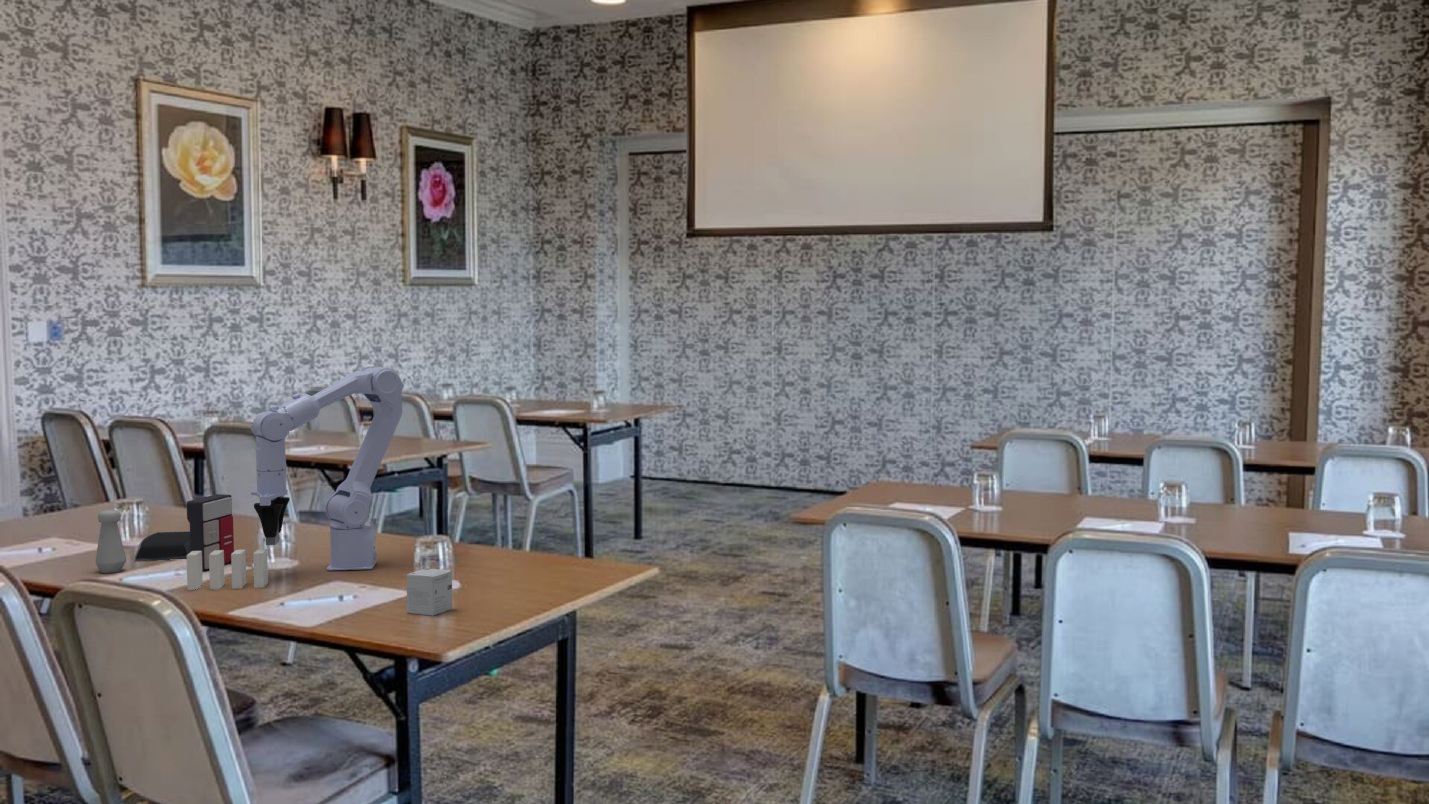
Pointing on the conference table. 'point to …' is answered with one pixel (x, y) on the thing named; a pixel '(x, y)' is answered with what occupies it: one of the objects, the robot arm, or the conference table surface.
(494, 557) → the conference table surface
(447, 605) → the skincare box
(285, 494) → the robot arm
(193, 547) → the calculator
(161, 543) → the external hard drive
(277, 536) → the tile
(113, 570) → the salt shaker
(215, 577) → the tile
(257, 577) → the tile
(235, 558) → the tile
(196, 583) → the tile
